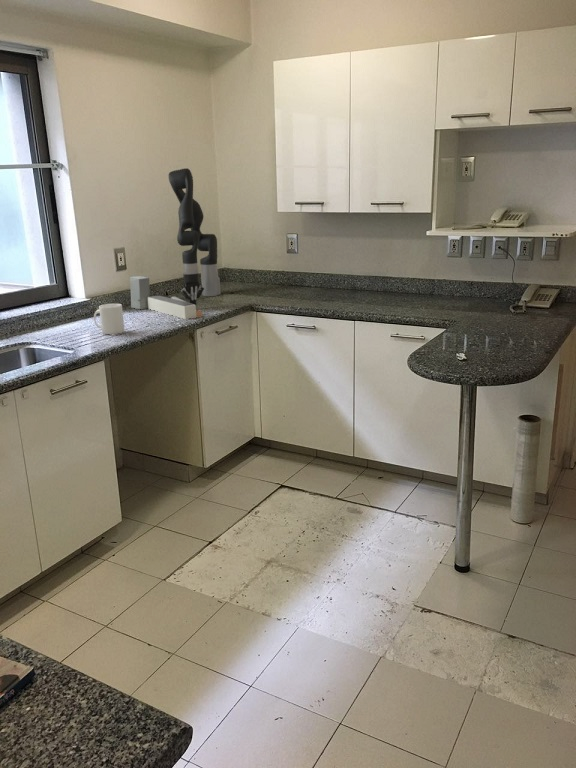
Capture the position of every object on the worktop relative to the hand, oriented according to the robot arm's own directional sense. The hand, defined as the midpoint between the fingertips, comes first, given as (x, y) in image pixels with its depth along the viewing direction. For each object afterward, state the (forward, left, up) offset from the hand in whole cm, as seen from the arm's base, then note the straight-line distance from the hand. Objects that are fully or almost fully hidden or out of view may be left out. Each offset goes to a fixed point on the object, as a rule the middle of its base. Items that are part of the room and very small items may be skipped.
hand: (193, 307), depth 324 cm
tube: (+4, -4, -2) cm, 6 cm away
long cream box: (+11, 0, -1) cm, 11 cm away
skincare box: (+16, -24, -1) cm, 29 cm away
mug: (+52, +17, -1) cm, 55 cm away
